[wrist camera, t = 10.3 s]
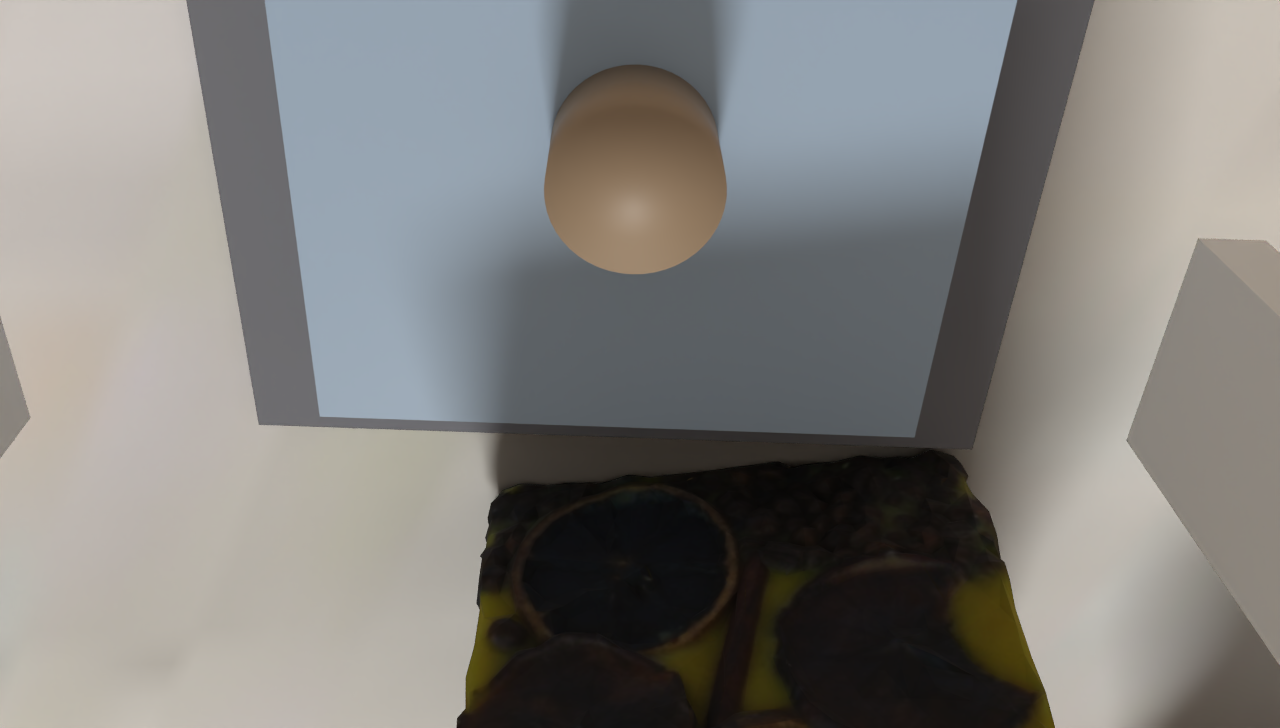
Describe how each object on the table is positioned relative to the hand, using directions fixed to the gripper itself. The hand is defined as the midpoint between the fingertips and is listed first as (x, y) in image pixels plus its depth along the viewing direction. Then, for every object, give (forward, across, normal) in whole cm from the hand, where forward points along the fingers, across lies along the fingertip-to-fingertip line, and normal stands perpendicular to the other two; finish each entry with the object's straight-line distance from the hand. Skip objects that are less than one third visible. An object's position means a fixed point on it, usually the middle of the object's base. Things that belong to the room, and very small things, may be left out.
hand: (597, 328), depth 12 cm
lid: (+7, +1, 0) cm, 7 cm away
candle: (+8, +4, -13) cm, 15 cm away
